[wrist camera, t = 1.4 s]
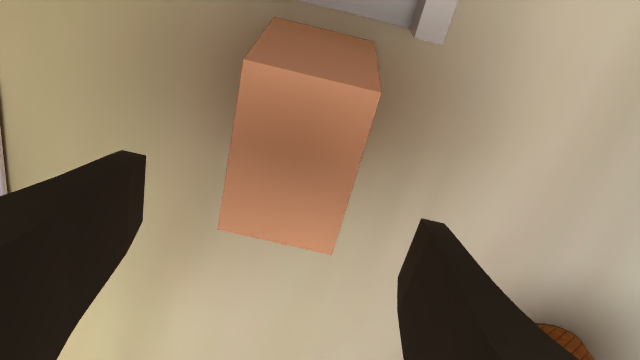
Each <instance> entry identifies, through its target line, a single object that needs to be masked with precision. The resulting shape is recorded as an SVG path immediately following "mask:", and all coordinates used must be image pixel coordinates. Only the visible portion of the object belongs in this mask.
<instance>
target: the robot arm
mask: <svg viewBox="0 0 640 360" xmlns="http://www.w3.org/2000/svg"><path fill="white" fill-rule="evenodd" d="M145 166H146V156H145V155H141V154H137V153H132V152H128V151H123V150H121V151H118V152H115V153H113V154H110V155H107V156H105V157H103V158H100V159H98V160H95V161H93V162H91V163H88V164H86V165H83V166H81V167H79V168H76V169H74V170H71V171H69V172H66V173H64V174H62V175H59V176H57V177H54V178H51V179H48V180H46V181H43V182H40V183H37V184H35V185H32V186H29V187H26V188H23V189H21V190H18V191H15V192H12V193H9V194H7V185H6V176H5V166H4V157H3V147H2V138H1V128H0V360H57V358H58V356H59V354H60V352H61V351H62V349H63V347H64V345H65V343H66V342H67V340H68V338H69V336H70V334H71V333H72V331H73V330H74V328H75V327H76V325H77V323H78V322H79V320H80V319H81V317H82V316H83V315H84V313H85V312H86V310H87V309H88V307H89V306H90V305H91V303H92V302H93V300H94V299H95V298H96V296H97V295H98V293H99V292H100V290H101V289H102V288H103V286H104V285H105V283H106V282H107V281H108V279H109V278H110V276H111V275H112V273H113V272H114V271H115V269H116V268H117V266H118V265H119V263H120V262H121V260H122V259H123V257H124V256H125V254H126V253H127V251H128V249H129V247H130V245H131V244H132V242H133V240H134V238H135V236H136V234H137V232H138V230H139V227H140V225H141V223H142V221H143V203H144V185H145ZM397 311H398V320H399V328H400V336H401V343H402V350H403V358H404V360H579V359H578V358H577V357H575V356H574V355H573V354H571V353H570V352H569V351H568V350H566V349H565V348H564V347H562V346H561V345H560V344H559V343H557V342H556V341H555V340H554V339H552V338H551V337H550V336H549V335H548V334H546V333H545V332H544V331H543V330H542V329H541V328H540V327H539V326H538V325H536V324H535V323H534V322H533V321H532V320H531V319H530V318H529V317H528V316H526V315H525V314H524V313H523V312H522V311H521V310H520V309H519V308H518V307H517V306H516V305H515V304H514V303H513V302H512V301H511V300H510V299H509V298H508V297H507V296H506V295H505V294H504V293H503V291H502V290H501V289H500V288H499V287H498V286H497V285H496V284H495V283H494V282H493V281H492V279H491V278H490V277H489V276H488V275H487V274H486V273H485V272H484V270H483V269H482V268H481V267H480V266H479V264H478V263H477V262H476V261H475V260H474V258H473V257H472V256H471V255H470V254H469V252H468V251H467V250H466V249H465V247H464V246H463V245H462V244H461V243H460V241H459V240H458V239H457V238H456V236H455V235H454V234H453V233H452V232H451V231H450V229H449V228H448V227H447V226H446V225H445V224H444V223H440V222H435V221H431V220H426V219H422V218H421V220H420V223H419V225H418V228H417V231H416V233H415V236H414V238H413V241H412V243H411V246H410V248H409V251H408V253H407V256H406V258H405V261H404V263H403V266H402V268H401V271H400V273H399V276H398V291H397Z"/></svg>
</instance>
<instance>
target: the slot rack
mask: <svg viewBox="0 0 640 360" xmlns="http://www.w3.org/2000/svg"><path fill="white" fill-rule="evenodd" d="M298 1H302V2H306V3H310V4H314V5H318V6H322V7H326V8H330V9H334V10H338V11H342V12H346V13H350V14H354V15H358V16H362V17H366V18H370V19H374V20H378V21H382V22H386V23H390V24H393V25H397V26H401V27H405V28H409V29H410V30H411V32H412V35H413V37H414V39H418V40H422V41H426V42H430V43H434V44H439V45H443V43H444V40H445V37H446V34H447V32H448V29H449V26H450V23H451V20H452V17H453V15H454V12H455V9H456V6H457V3H458V0H298Z"/></svg>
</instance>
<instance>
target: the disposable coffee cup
mask: <svg viewBox="0 0 640 360" xmlns="http://www.w3.org/2000/svg"><path fill="white" fill-rule="evenodd" d="M538 326H539V327H540V328H541V329H542V330H543V331H544V332H545V333H546V334H548V335H549V336H550V337H551V338H552V339H554V340H555V341H556V342H557V343H559V344H560V345H561V346H562V347H564V348H565V349H566V350H568V351H569V352H570V353H571V354H573V355H574V356H575V357H577V358H578V359H579V360H594V359H593V357H592V356H591V354H590V353H589V352H588V351H587V349H586V347H585V345H584V344H583V343H582V341H581V340H580V339H579V338H577V337H576V336H575V335H574V334H572V333H570V332H568V331H566V330H564V329H561V328H558V327H554V326H548V325H538Z"/></svg>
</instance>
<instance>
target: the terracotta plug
mask: <svg viewBox="0 0 640 360" xmlns="http://www.w3.org/2000/svg"><path fill="white" fill-rule="evenodd" d="M380 95H381V87H380V79H379V72H378V64H377V56H376V49H375V42H373V41H369V40H365V39H361V38H357V37H353V36H349V35H344V34H340V33H336V32H332V31H328V30H324V29H320V28H316V27H312V26H308V25H304V24H300V23H296V22H292V21H288V20H284V19H280V18H276V17H274V18H273V20H272V21H271V22H270V24H269V25H268V26H267V28H266V29H265V31H264V32H263V33H262V35H261V36H260V37H259V39H258V40H257V41H256V43H255V44H254V46H253V47H252V48H251V50H250V51H249V52H248V54H247V55H246V57H245V58H244V59H243V66H242V72H241V79H240V85H239V92H238V99H237V105H236V112H235V118H234V125H233V132H232V138H231V145H230V151H229V158H228V165H227V171H226V178H225V184H224V191H223V198H222V204H221V211H220V217H219V224H218V230H223V231H227V232H232V233H236V234H240V235H245V236H249V237H254V238H258V239H263V240H267V241H272V242H276V243H281V244H285V245H290V246H294V247H299V248H303V249H308V250H312V251H317V252H321V253H326V254H330V255H332V253H333V250H334V247H335V243H336V240H337V237H338V234H339V230H340V227H341V224H342V220H343V217H344V214H345V211H346V207H347V204H348V201H349V197H350V194H351V191H352V187H353V184H354V181H355V178H356V174H357V171H358V168H359V164H360V161H361V158H362V155H363V151H364V148H365V145H366V141H367V138H368V135H369V131H370V128H371V125H372V122H373V118H374V115H375V112H376V108H377V105H378V102H379V99H380Z"/></svg>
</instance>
